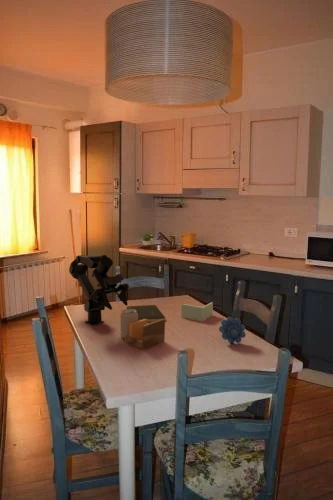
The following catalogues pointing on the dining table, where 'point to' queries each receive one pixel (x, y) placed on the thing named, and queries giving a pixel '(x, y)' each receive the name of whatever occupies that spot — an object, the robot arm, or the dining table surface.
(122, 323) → the can
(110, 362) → the dining table surface
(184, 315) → the right angle wall
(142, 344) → the brown wooden crate
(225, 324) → the grapes
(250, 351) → the dining table surface
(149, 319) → the hardcover book
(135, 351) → the dining table surface
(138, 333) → the pusher
